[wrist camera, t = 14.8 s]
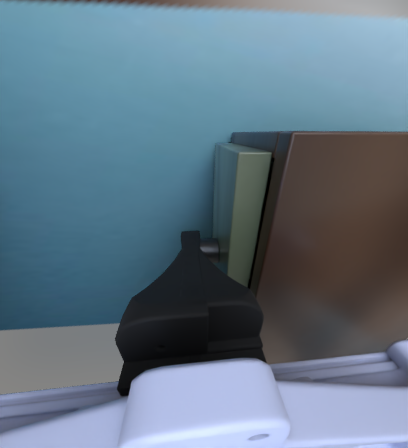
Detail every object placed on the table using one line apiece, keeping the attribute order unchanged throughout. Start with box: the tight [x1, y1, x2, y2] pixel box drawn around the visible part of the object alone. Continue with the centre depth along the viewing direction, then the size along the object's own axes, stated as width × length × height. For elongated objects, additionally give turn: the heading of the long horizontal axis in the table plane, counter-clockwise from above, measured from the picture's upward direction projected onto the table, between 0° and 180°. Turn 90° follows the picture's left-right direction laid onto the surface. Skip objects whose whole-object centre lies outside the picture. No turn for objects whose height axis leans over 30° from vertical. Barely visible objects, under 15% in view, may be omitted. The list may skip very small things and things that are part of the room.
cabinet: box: [231, 131, 408, 365], centre depth 11 cm, size 11×14×8 cm
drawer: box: [200, 143, 275, 289], centre depth 11 cm, size 11×12×6 cm
